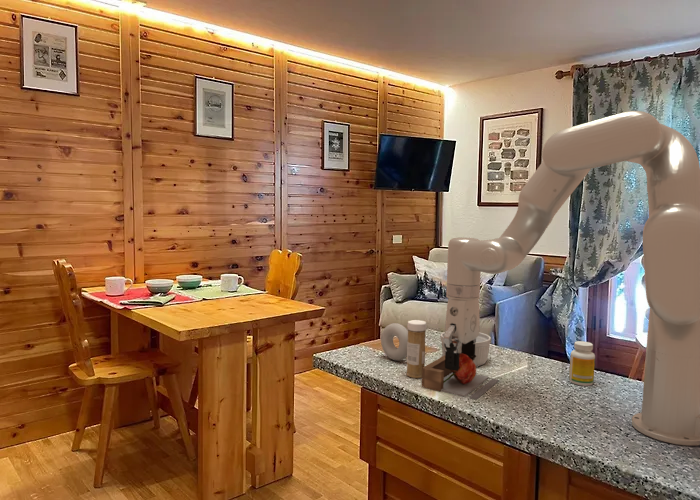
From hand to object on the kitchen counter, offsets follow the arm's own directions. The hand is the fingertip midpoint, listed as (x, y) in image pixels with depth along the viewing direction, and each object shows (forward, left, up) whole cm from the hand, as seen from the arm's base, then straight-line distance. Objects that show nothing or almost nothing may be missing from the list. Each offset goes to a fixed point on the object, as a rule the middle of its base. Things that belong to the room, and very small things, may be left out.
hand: (460, 364), depth 121 cm
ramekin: (+6, -18, -5) cm, 20 cm away
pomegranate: (0, 0, -5) cm, 5 cm away
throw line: (-6, 0, -5) cm, 8 cm away
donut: (+21, -7, -5) cm, 23 cm away
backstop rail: (+4, -1, -5) cm, 6 cm away
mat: (0, 0, -5) cm, 5 cm away
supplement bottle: (-23, -19, -5) cm, 30 cm away
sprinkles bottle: (+11, +1, -5) cm, 12 cm away
